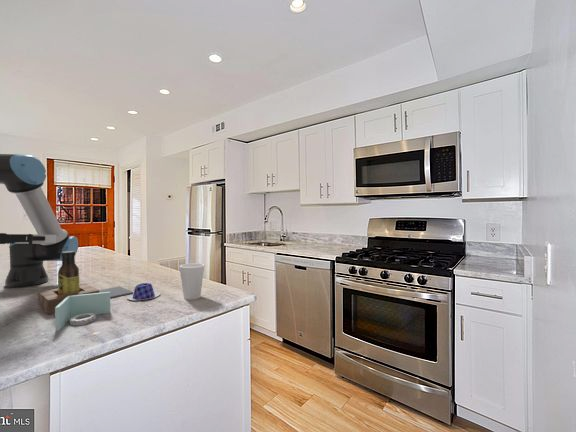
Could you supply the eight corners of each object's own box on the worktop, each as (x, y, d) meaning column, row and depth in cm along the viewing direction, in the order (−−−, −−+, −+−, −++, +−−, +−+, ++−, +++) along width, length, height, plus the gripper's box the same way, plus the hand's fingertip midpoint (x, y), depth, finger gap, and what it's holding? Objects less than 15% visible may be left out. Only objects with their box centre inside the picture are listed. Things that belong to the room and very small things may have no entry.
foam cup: (196, 301, 109) (196, 268, 109) (175, 300, 111) (174, 267, 111) (208, 294, 119) (208, 263, 118) (188, 293, 121) (188, 262, 120)
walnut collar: (38, 305, 105) (38, 291, 105) (86, 295, 117) (86, 283, 117) (48, 314, 96) (48, 300, 96) (99, 303, 107) (99, 290, 107)
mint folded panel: (55, 333, 83) (55, 307, 83) (68, 318, 94) (67, 295, 94) (103, 326, 88) (103, 302, 88) (110, 313, 99) (110, 291, 99)
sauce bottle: (58, 303, 107) (57, 251, 106) (79, 300, 111) (78, 249, 110) (58, 308, 102) (57, 253, 101) (79, 304, 106) (78, 251, 105)
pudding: (141, 292, 123) (141, 280, 123) (166, 294, 121) (166, 281, 120) (119, 301, 111) (119, 287, 111) (146, 303, 109) (146, 289, 109)
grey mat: (88, 293, 120) (88, 292, 120) (119, 287, 129) (119, 286, 129) (100, 300, 111) (100, 298, 111) (132, 293, 120) (132, 291, 120)
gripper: (-54, 251, 90) (32, 250, 108) (-31, 250, 77) (62, 249, 95) (-51, 227, 91) (34, 230, 109) (-28, 223, 78) (63, 227, 96)
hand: (47, 239), depth 102 cm, fingers open, 13 cm apart
